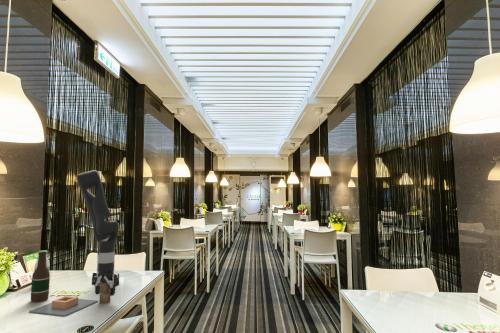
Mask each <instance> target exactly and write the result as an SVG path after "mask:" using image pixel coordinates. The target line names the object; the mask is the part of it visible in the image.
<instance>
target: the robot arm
mask: <svg viewBox="0 0 500 333" xmlns="http://www.w3.org/2000/svg"><path fill="white" fill-rule="evenodd" d="M76 180H77V184H78V187H79V189H80V191H81V193H82V196H83V199H84V203H85V206H86V209H87V212H88V216H89V218H90V221H91V224H92V229H93V234H94V239H95V240H96V242H97V243H99V244H98V245H99V246H98V247H99V249H98V250H97V256H96V257H97V259H96V260H97V261H96V271H95V272H93V273H92V276H91V286H94V287H95V288H94V293H95V295H97V296H98V295H100V282H106V283H108V284H109V285H110V287H111V288H110V296H111V297H112V296H114V295H115V293H116V288H117V287H119V286H120V273H115V259H116V258H115V254H116V253H115V248H116V247H115V246H116V241H117V238H118V236H119V235H118V234H119V230H120V224H119V222H118V221H117V220H107V219H110V217H111V211H110V208H109V206H108V203H107V201H106V195H105V194H106V193H105V191H104V186H103V182H102V179H101V176H100V173H99V172H98V170H96V169H93V170H92V169H91V170H89V171H84V172H80V173H79V174H77V175H76ZM95 187H96V192H95V195H94V194H93V193H92V192H91V191H90V189H93V188H95Z"/></svg>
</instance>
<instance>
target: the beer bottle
mask: <svg viewBox="0 0 500 333" xmlns="http://www.w3.org/2000/svg"><path fill="white" fill-rule="evenodd" d="M41 251H42V252H39V251H38V254H37V255H38V257H39V258H37V260H38V265H37V268H36V270H35V271H34V270H33V272H32V275H31V276H32V277H31V286H30V287H31V289H30V301H31V303H41V302H45V301H47V300H49V294H50V281H51V274H50V270H48V269H47V267H46V254H47V255H48V253H47V252H46V251H43V250H41Z"/></svg>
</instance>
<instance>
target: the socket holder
mask: <svg viewBox="0 0 500 333" xmlns="http://www.w3.org/2000/svg"><path fill="white" fill-rule="evenodd" d="M97 303H99V300H93V299H87V298H85V299H83V298H79V296H72V295H71V296H69V295H64V296H62V297H59V298H56V299H53V300H52V301H51V302H50V303H47V304H44V305H41V306H39V307H35V308H34V309H31V310H29V311H28V313H31V314H38V315H39V314H40V315H49V316H55V315H56V316H57V317H64V316H65V317H67V316H70V315H71V314H74V313H76V312H78V311H80V310H83V309H86V308H88V307H89V306H91V305H92V306H93V305H94V304H97Z"/></svg>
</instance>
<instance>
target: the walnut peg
mask: <svg viewBox="0 0 500 333" xmlns="http://www.w3.org/2000/svg"><path fill="white" fill-rule="evenodd" d="M99 286H100V294H99V298H98V299H99V300H98V303H99V304H100V305H101V304H103V305H107V304H108V303H110V302H111V298H112V296H110V288H111V287H110V285H109V284H108V283H106V282H100V285H99Z"/></svg>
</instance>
